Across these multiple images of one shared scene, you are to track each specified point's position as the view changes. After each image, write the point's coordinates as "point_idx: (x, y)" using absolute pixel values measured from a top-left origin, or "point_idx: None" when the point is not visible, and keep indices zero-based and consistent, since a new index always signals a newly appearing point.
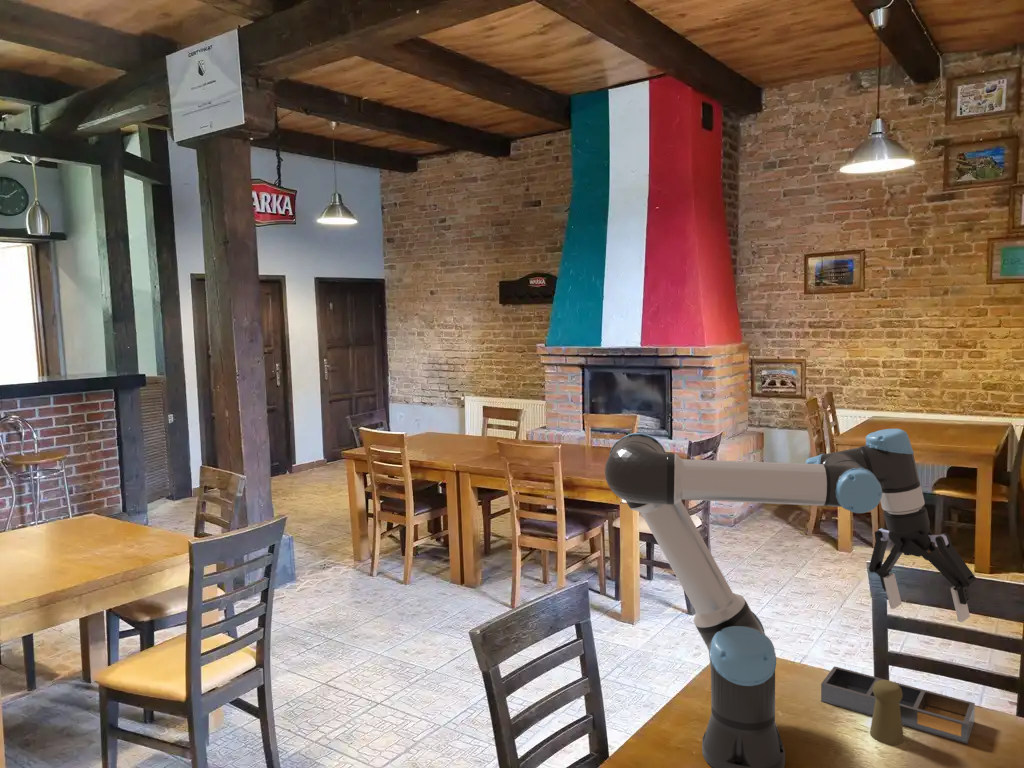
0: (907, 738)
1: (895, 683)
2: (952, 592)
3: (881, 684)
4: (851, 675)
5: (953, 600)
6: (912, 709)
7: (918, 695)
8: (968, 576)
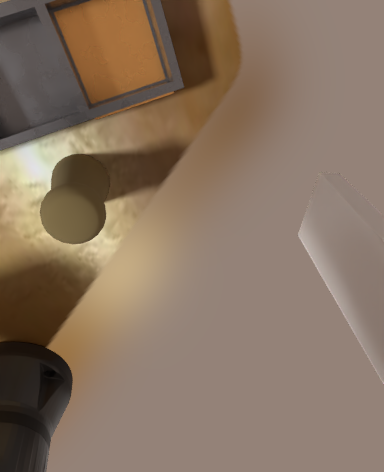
0: (105, 158)
1: (79, 202)
2: (379, 364)
3: (67, 235)
4: None
5: (345, 316)
6: (84, 120)
7: (31, 11)
8: None
